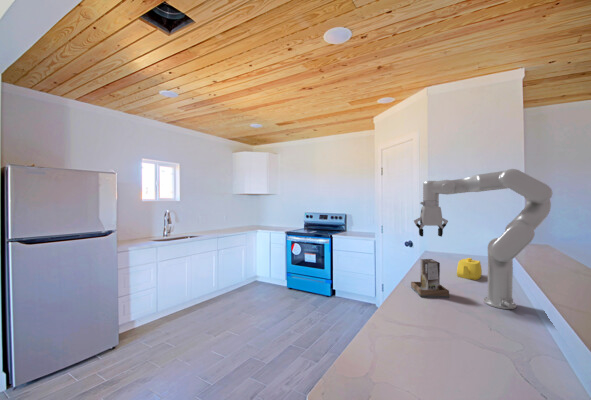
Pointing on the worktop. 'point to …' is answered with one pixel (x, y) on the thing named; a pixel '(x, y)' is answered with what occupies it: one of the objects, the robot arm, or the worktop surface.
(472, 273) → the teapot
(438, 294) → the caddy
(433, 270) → the coffee box
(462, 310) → the worktop surface
